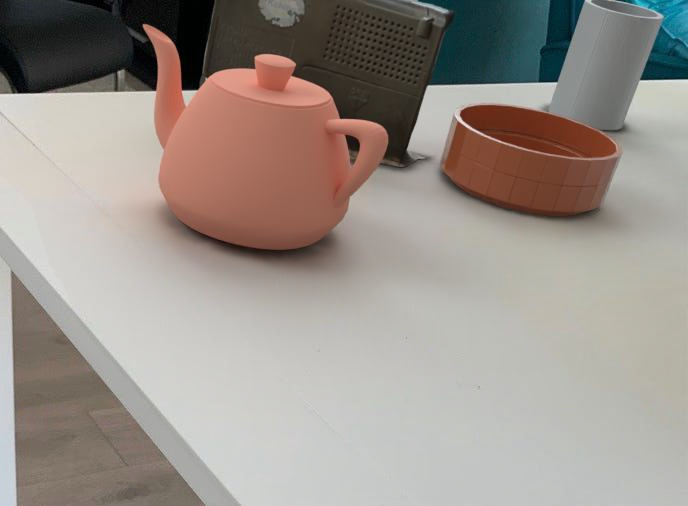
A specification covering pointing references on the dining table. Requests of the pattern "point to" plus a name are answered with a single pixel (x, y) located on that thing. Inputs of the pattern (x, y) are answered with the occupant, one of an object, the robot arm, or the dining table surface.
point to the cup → (605, 62)
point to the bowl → (529, 159)
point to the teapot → (257, 152)
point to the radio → (341, 54)
